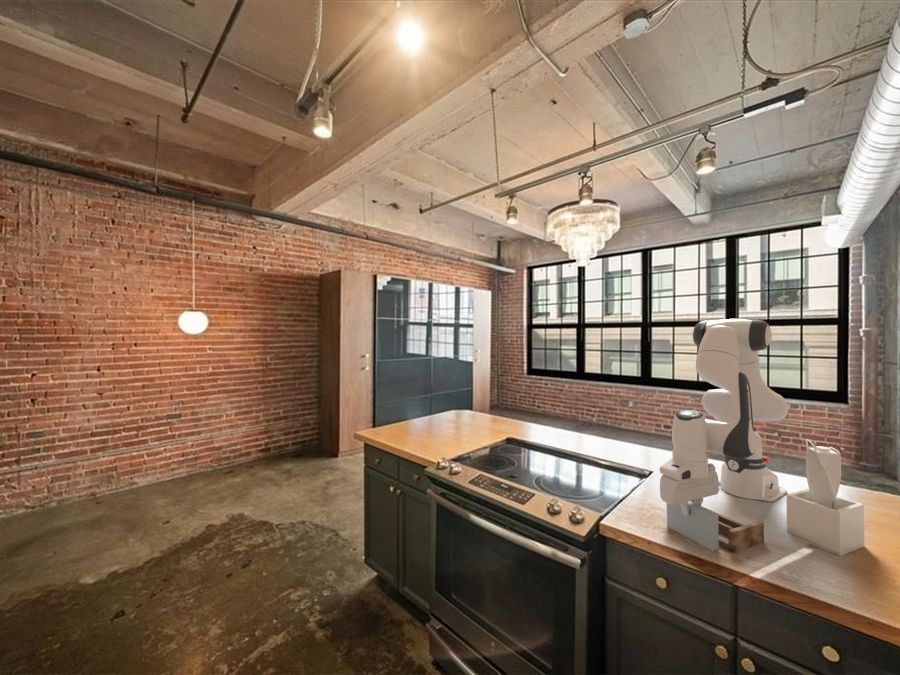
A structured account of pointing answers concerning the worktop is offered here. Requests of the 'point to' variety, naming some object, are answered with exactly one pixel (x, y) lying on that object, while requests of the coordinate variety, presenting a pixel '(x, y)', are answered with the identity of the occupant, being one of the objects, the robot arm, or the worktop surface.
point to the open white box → (826, 523)
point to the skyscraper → (823, 474)
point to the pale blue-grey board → (695, 524)
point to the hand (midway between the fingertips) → (690, 513)
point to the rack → (739, 534)
